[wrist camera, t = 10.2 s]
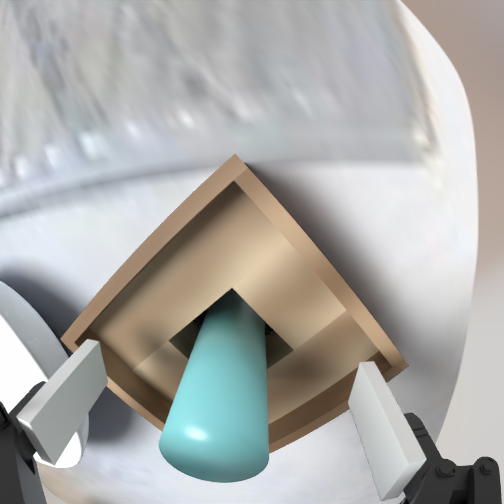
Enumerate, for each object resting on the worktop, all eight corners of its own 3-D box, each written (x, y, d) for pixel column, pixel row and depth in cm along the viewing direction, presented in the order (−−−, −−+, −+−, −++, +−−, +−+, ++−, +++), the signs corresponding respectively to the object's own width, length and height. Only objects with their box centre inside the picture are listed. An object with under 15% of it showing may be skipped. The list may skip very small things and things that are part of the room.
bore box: (375, 321, 20) (408, 365, 14) (231, 419, 23) (225, 472, 17) (242, 162, 18) (235, 153, 12) (101, 302, 20) (60, 339, 15)
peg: (262, 343, 21) (264, 485, 9) (207, 339, 21) (166, 474, 9) (266, 292, 20) (274, 426, 8) (207, 288, 20) (151, 413, 8)
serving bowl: (4, 207, 19) (-52, 219, 12) (153, 389, 22) (127, 446, 16) (-41, 321, 22) (-73, 342, 16) (62, 443, 26) (41, 477, 19)
